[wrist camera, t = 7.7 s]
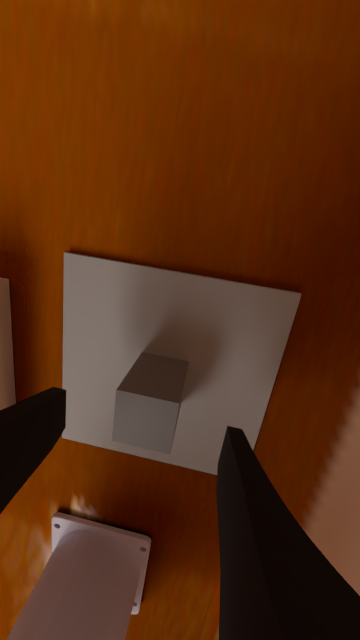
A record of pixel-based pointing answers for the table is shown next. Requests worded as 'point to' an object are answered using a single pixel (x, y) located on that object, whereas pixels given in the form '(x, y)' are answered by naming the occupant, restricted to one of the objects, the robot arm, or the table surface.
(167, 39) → the table surface
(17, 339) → the table surface
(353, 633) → the robot arm
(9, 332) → the box
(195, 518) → the table surface
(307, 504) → the table surface
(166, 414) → the lid
